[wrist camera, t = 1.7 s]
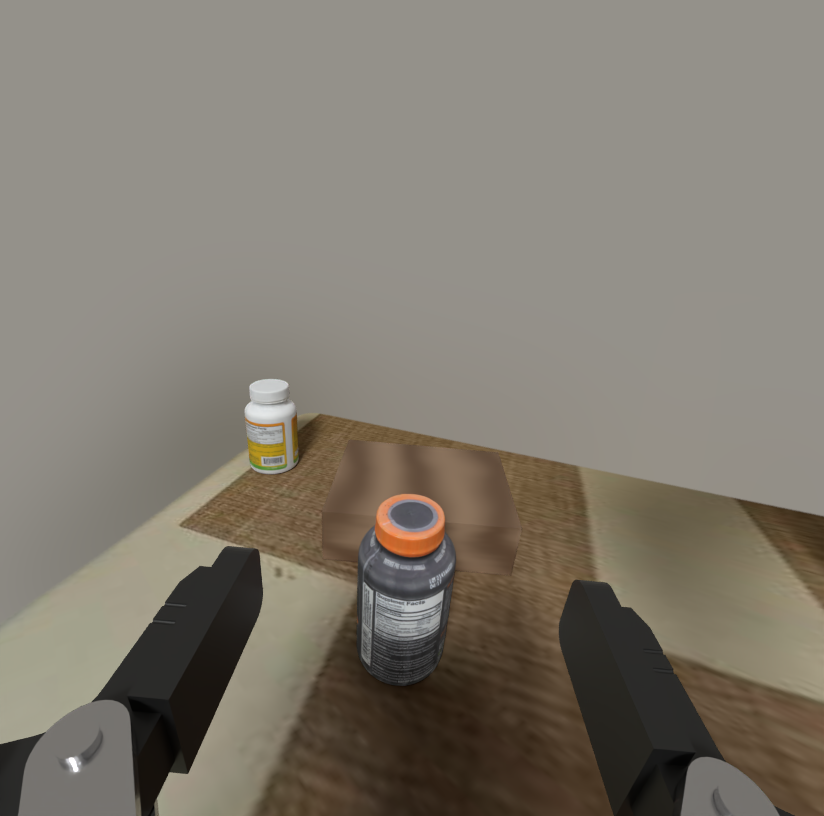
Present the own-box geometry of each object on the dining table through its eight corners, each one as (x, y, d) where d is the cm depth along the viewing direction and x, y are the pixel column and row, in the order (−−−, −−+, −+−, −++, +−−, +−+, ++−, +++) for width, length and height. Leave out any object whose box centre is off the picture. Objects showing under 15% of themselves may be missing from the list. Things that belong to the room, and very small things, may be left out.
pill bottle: (388, 594, 31) (397, 471, 27) (457, 634, 29) (480, 505, 24) (337, 655, 27) (337, 518, 22) (413, 710, 24) (431, 567, 19)
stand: (490, 491, 45) (498, 452, 43) (511, 575, 34) (522, 528, 32) (348, 478, 45) (349, 439, 43) (322, 559, 34) (321, 511, 32)
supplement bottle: (278, 446, 50) (273, 372, 46) (308, 461, 48) (306, 385, 44) (240, 464, 46) (231, 385, 42) (271, 481, 43) (264, 399, 39)
